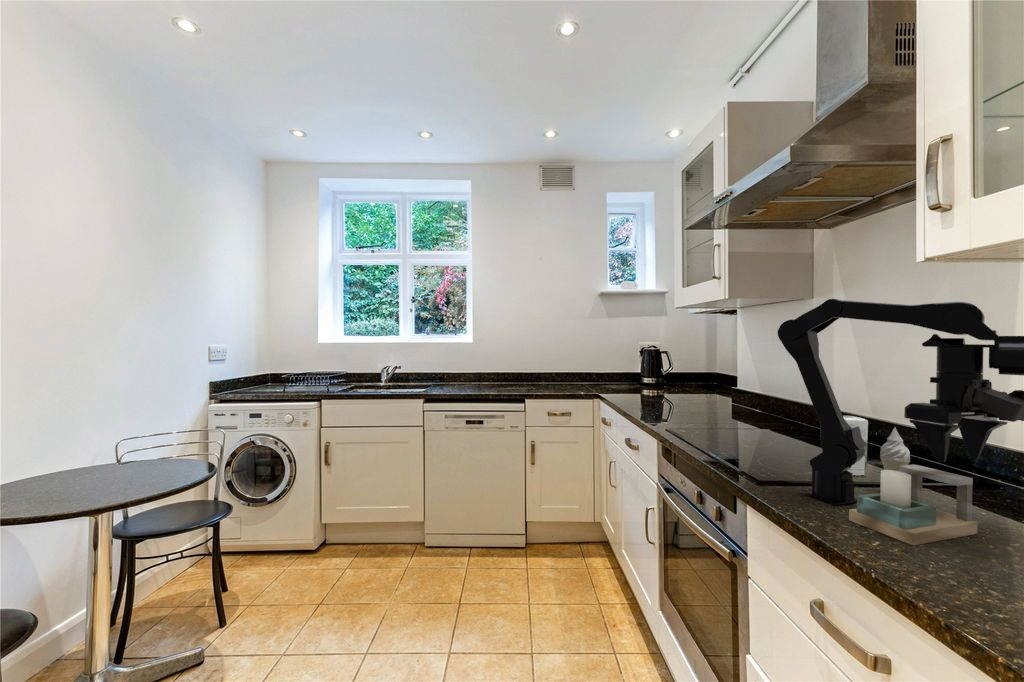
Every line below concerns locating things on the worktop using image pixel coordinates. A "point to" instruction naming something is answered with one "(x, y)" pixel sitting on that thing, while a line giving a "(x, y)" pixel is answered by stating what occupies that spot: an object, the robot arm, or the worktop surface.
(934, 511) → the socket board
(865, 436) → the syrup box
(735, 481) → the worktop surface
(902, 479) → the peg
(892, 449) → the ice cream cone
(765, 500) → the worktop surface
